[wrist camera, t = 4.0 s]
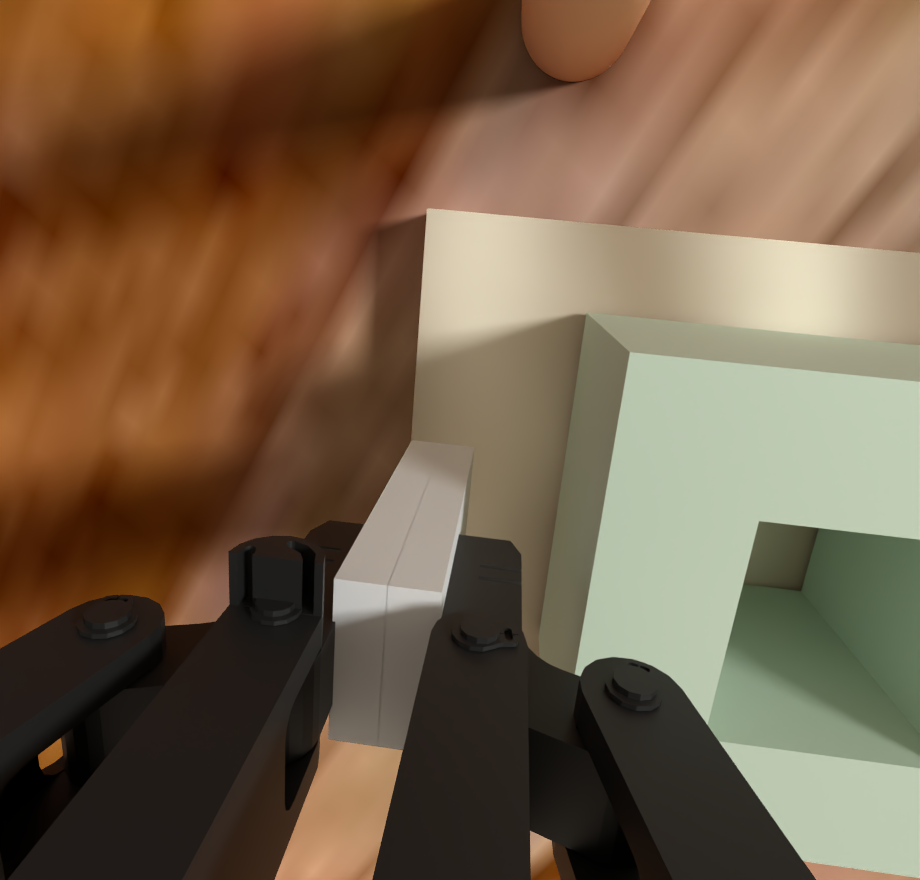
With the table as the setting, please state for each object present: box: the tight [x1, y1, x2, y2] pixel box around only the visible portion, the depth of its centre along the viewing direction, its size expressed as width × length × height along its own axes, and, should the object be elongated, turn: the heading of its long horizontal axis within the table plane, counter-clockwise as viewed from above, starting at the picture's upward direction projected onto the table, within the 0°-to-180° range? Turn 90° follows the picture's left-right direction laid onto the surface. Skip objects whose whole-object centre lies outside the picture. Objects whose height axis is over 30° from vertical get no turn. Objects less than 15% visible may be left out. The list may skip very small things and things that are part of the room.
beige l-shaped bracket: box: [411, 208, 920, 658], centre depth 13 cm, size 22×13×10 cm, turn 85°
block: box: [539, 312, 920, 878], centre depth 13 cm, size 9×9×6 cm
